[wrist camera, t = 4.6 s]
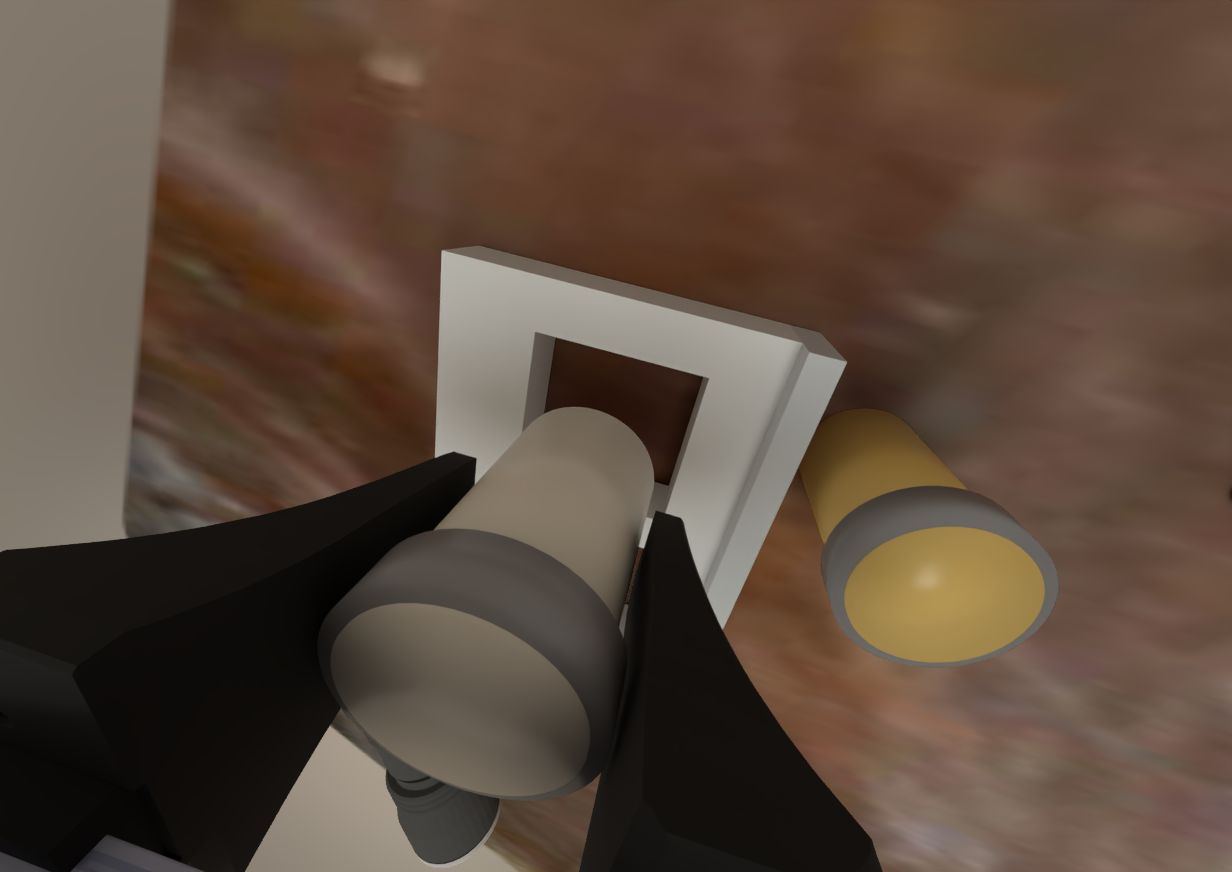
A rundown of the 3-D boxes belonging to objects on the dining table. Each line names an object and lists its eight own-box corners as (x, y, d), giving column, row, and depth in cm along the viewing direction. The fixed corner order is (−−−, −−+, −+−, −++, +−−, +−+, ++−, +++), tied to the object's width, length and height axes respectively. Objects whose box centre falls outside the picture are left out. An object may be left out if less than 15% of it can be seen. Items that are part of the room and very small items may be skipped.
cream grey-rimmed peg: (687, 427, 12) (649, 669, 5) (640, 560, 14) (573, 841, 8) (517, 374, 12) (300, 544, 6) (496, 511, 14) (321, 743, 8)
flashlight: (365, 591, 26) (285, 677, 21) (451, 595, 24) (387, 687, 20) (442, 763, 32) (393, 860, 27) (514, 773, 31) (477, 876, 26)
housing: (819, 332, 15) (847, 362, 12) (685, 649, 22) (681, 718, 19) (479, 245, 16) (423, 252, 13) (456, 577, 23) (417, 632, 20)
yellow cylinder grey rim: (954, 420, 16) (1113, 555, 9) (889, 526, 18) (984, 693, 11) (819, 385, 16) (887, 492, 10) (771, 492, 18) (802, 636, 12)
